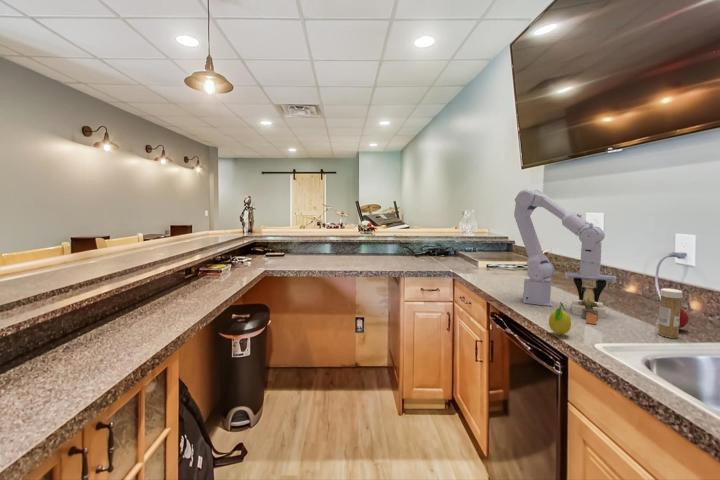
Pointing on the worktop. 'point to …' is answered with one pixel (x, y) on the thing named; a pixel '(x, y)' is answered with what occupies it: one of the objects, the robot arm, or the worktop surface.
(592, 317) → the pin
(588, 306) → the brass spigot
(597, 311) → the block
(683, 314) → the onion
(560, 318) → the lemon
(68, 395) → the worktop surface
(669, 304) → the sprinkles bottle
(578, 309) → the dock
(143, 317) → the worktop surface
